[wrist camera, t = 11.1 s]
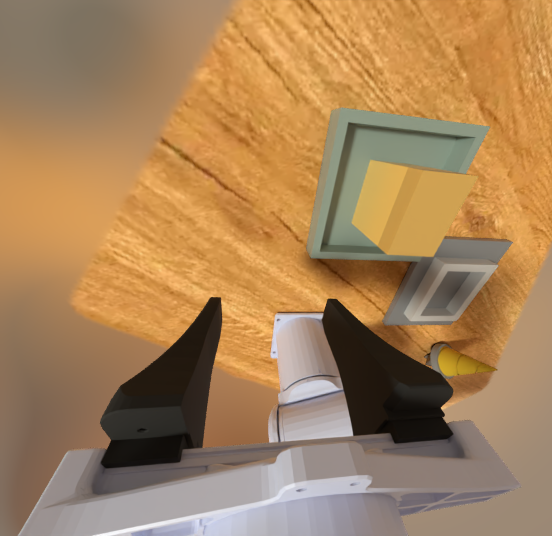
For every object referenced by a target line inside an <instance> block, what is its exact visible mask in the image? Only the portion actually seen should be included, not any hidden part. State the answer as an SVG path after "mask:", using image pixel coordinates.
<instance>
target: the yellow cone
mask: <svg viewBox="0 0 552 536" xmlns="http://www.w3.org/2000/svg"><path fill="white" fill-rule="evenodd" d="M425 358H426V365H430V366H432V368H433V370H435V371H437V372H439V373H441V375H442V376H443V377H444V378H447V379H451V378H453V377H454V376H457V375H465V374H474V373H476V372H477V373H482V372H491V371H495V370H497V369H495V368H493V367H491V366H489V365H486V364H484V363H482V362H480V361H478V360H475V359H473V358H471V357H469V356H466V355H464V354H462V353H460V352H458V351H455V350H453V349H452V348H451V347H450V346H449V345H447V344H440V343H438V344H435V345H434V346H433V348H432V350H431V355H427V356H425Z"/></svg>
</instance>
